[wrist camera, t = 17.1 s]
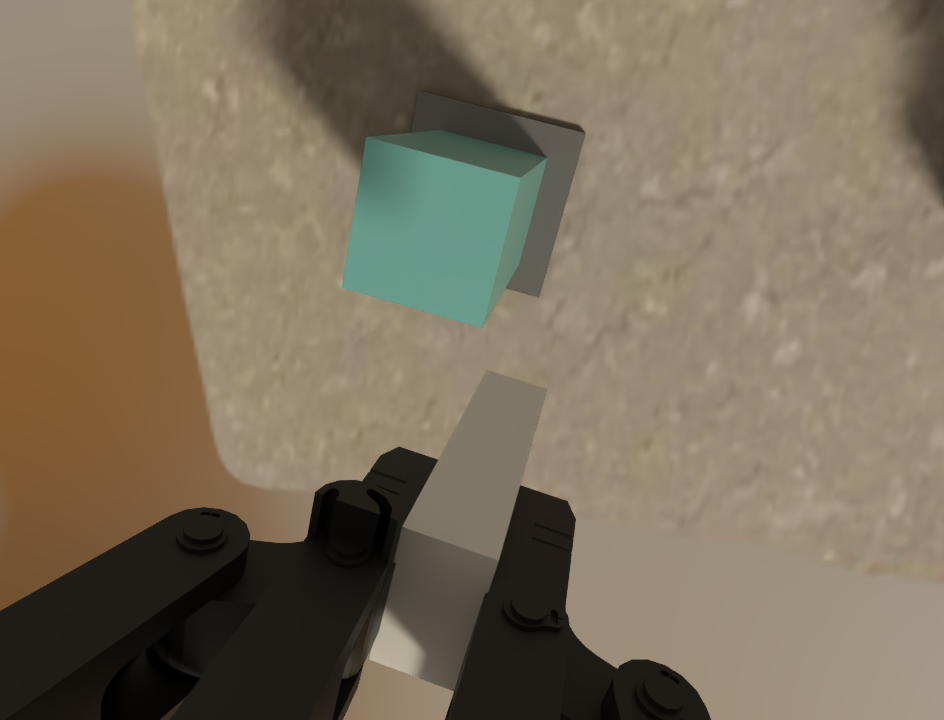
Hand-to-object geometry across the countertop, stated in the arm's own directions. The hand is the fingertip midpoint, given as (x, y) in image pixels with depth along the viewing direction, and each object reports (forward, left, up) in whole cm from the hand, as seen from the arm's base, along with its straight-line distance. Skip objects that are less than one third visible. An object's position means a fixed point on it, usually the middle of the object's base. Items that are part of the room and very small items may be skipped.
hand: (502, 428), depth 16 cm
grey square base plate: (+4, -2, -18) cm, 19 cm away
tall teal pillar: (+4, -2, -18) cm, 18 cm away
